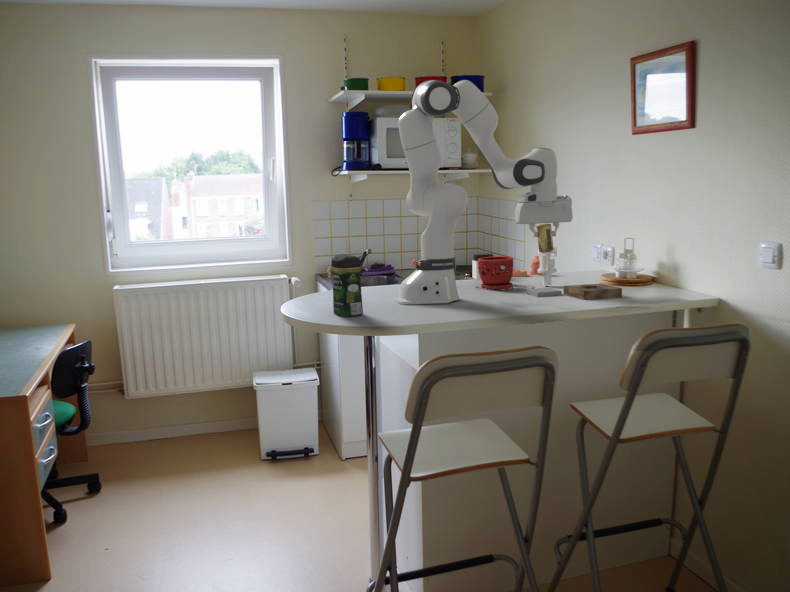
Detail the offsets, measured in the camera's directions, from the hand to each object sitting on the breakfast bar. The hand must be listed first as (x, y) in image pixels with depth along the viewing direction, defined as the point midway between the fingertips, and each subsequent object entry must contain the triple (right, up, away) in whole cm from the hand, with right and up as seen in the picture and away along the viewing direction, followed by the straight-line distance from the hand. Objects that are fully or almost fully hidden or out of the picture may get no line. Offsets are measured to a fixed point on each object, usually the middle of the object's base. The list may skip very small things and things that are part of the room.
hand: (544, 236), depth 234 cm
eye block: (+16, -21, -4) cm, 26 cm away
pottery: (+1, -14, +45) cm, 47 cm away
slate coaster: (+1, -20, +3) cm, 20 cm away
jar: (-16, -16, +38) cm, 44 cm away
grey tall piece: (+6, -17, +22) cm, 29 cm away
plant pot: (-14, -18, +20) cm, 30 cm away
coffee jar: (-66, -27, -28) cm, 76 cm away
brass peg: (+1, -5, +1) cm, 5 cm away
